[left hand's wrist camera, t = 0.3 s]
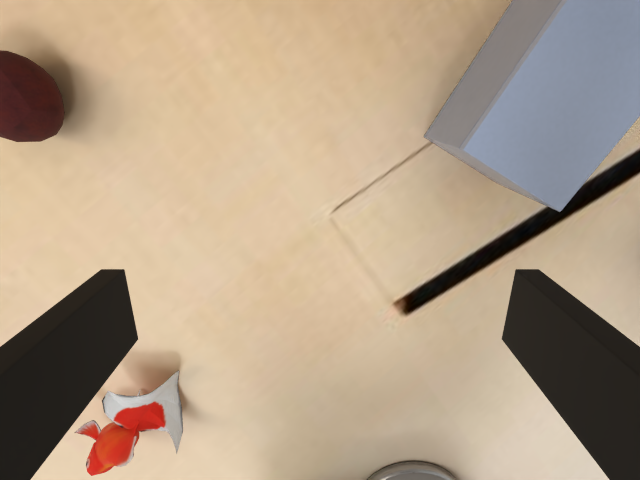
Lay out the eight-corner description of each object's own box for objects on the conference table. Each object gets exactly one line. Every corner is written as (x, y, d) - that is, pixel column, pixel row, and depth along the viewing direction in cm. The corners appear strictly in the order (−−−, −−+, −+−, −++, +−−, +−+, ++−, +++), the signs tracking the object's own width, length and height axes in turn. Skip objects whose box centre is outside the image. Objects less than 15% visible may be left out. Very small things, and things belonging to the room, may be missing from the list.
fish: (36, 416, 44) (30, 492, 36) (151, 329, 48) (168, 381, 40) (102, 450, 51) (109, 520, 43) (199, 371, 54) (221, 422, 47)
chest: (523, -18, 33) (606, -66, 23) (601, 42, 35) (709, 19, 25) (423, 136, 38) (458, 148, 28) (496, 183, 39) (553, 209, 30)
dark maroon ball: (37, 38, 34) (-30, 23, 28) (98, 112, 37) (49, 115, 30) (-16, 86, 36) (-92, 83, 29) (46, 155, 38) (-11, 166, 31)
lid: (614, -77, 23) (759, -165, 16) (717, 10, 25) (894, -30, 17) (458, 148, 28) (511, 166, 20) (554, 209, 30) (636, 246, 22)
